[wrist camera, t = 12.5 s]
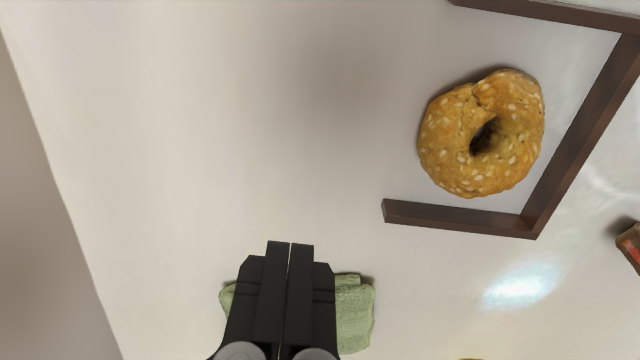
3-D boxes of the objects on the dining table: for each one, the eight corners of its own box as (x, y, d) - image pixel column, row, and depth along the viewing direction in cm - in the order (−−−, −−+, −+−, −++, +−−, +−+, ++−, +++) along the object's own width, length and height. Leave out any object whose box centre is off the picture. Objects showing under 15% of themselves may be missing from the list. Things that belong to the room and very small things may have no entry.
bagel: (566, 102, 32) (601, 128, 28) (471, 193, 37) (489, 226, 33) (479, 36, 29) (504, 55, 25) (389, 145, 34) (398, 174, 30)
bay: (447, -17, 27) (458, -12, 25) (645, 16, 28) (671, 24, 26) (381, 206, 38) (384, 223, 36) (524, 223, 39) (536, 240, 37)
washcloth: (372, 338, 50) (374, 362, 48) (238, 342, 51) (233, 366, 48) (374, 269, 43) (377, 292, 40) (218, 274, 44) (211, 298, 41)
